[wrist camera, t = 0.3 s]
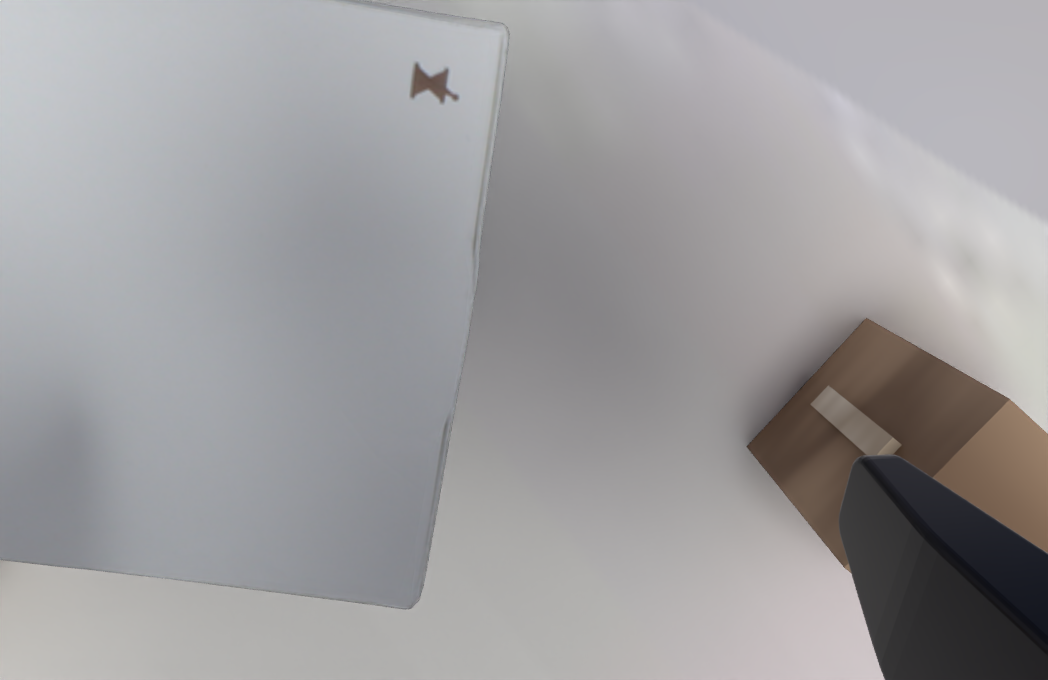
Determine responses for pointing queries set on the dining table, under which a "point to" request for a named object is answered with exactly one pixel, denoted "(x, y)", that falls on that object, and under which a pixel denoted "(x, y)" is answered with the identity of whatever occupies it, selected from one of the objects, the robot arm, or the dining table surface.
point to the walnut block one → (905, 435)
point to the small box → (237, 285)
